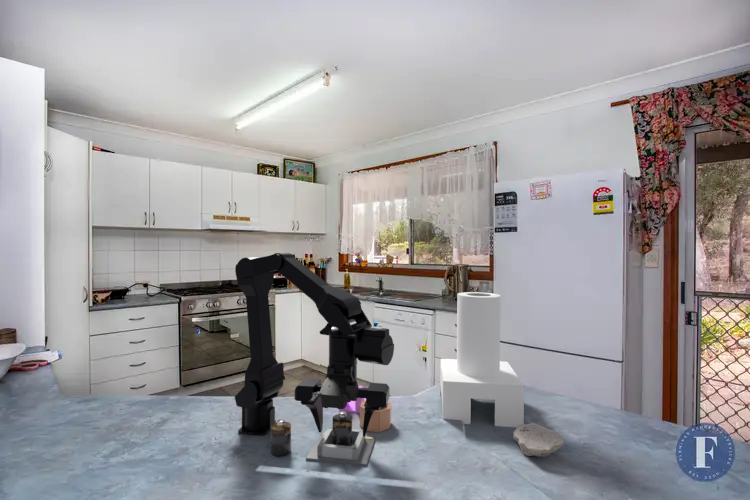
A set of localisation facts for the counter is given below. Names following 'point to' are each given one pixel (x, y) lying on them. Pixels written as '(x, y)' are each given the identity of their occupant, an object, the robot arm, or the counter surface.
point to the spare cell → (280, 438)
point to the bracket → (354, 405)
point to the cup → (377, 418)
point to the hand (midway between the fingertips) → (342, 433)
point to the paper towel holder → (480, 365)
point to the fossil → (537, 439)
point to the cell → (342, 429)
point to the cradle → (342, 449)
